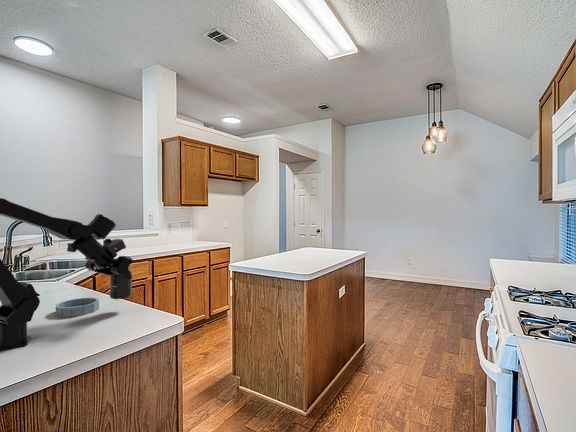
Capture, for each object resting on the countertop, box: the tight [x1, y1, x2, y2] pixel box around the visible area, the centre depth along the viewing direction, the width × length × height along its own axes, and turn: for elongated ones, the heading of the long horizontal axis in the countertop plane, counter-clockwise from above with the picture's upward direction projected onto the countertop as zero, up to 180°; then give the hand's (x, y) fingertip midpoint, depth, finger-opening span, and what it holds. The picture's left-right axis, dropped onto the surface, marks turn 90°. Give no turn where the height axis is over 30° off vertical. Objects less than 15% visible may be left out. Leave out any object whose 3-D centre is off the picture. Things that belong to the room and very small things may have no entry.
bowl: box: [55, 297, 100, 318], centre depth 111 cm, size 13×13×3 cm
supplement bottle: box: [109, 266, 133, 300], centre depth 110 cm, size 7×7×12 cm
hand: (124, 277), depth 112 cm, fingers closed on supplement bottle, 7 cm apart
